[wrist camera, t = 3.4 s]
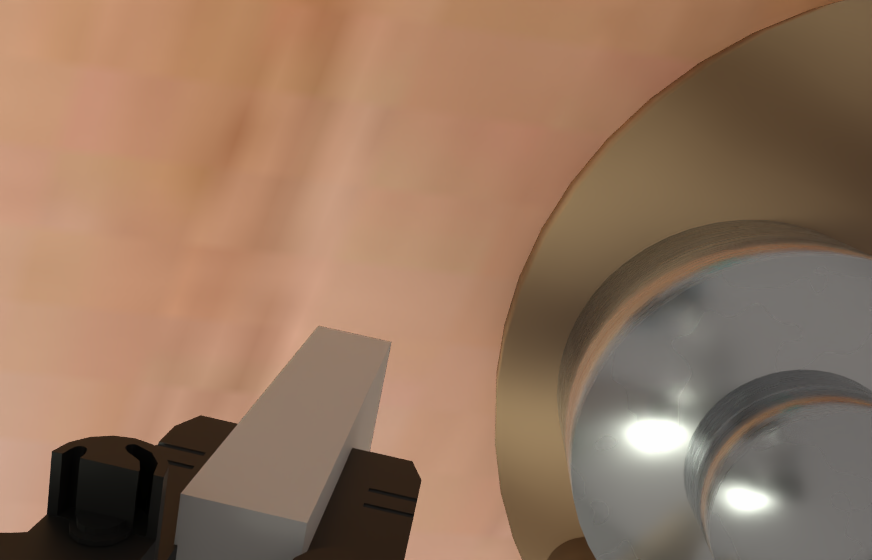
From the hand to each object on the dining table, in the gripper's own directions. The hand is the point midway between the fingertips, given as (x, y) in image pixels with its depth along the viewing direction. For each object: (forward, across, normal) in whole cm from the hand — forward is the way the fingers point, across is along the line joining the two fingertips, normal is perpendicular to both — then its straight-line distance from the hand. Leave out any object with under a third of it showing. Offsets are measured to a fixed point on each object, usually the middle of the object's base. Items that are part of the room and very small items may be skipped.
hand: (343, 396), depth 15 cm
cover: (+5, +9, 0) cm, 10 cm away
